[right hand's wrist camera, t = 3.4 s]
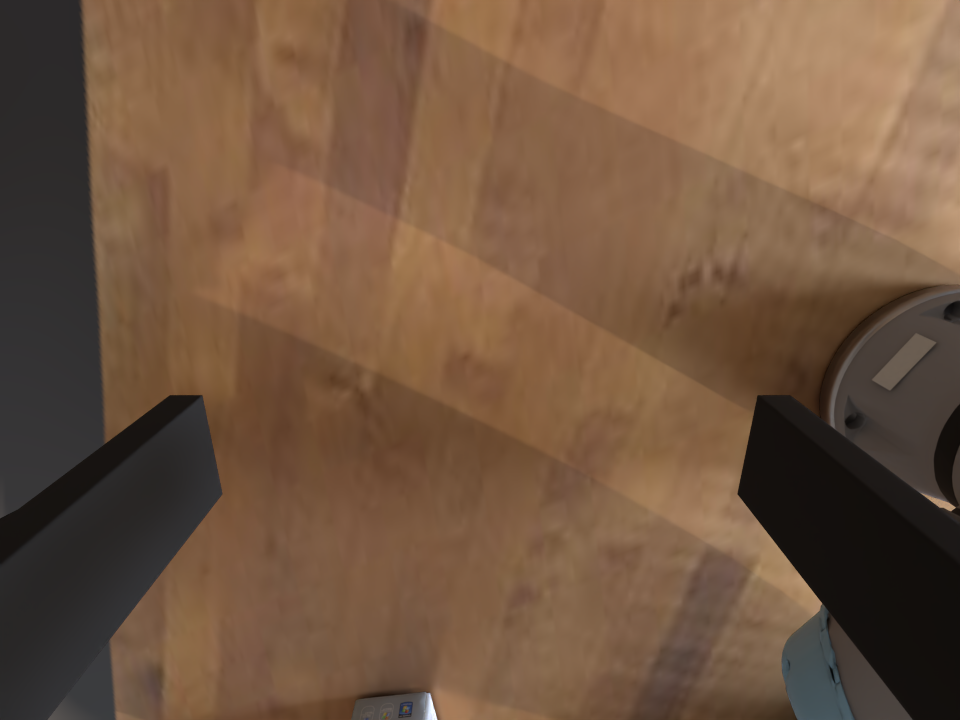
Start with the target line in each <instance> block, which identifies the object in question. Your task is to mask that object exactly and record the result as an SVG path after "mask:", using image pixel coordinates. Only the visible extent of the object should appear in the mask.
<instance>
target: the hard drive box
mask: <svg viewBox="0 0 960 720" xmlns="http://www.w3.org/2000/svg"><path fill="white" fill-rule="evenodd" d="M351 720H437V717H436V713H435V710H434V707H433V703H432V699H431V696H430V693H426V692H419V693H410V694H402V695H392V696H383V697H374V698H365V699H358V700H356V701H355V706H354V710H353V714H352V718H351Z"/></svg>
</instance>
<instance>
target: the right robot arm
mask: <svg viewBox="0 0 960 720" xmlns="http://www.w3.org/2000/svg"><path fill="white" fill-rule="evenodd" d="M820 415H821V418H820V417H818V416H817V415H816V414H814V413H813V412H812V411H810V410H809V409H808V408H806V407H805V406H804V405H802V404H801V403H800V402H798V401H797V400H796V399H794V398H793V397H792V396H790V395H758V396H757V401H756V406H755V411H754V416H753V421H752V425H751V430H750V435H749V440H748V445H747V450H746V455H745V460H744V465H743V469H742V474H741V479H740V484H739V489H738V495H739V497H740V498H741V499H742V500H743V502H744V503H745V504H746V506H747V507H748V508H749V509H750V511H751V512H752V513H753V515H754V516H755V517H756V518H757V520H758V521H759V522H760V524H761V525H762V526H763V528H764V529H765V530H766V531H767V533H768V534H769V535H770V537H771V538H772V539H773V540H774V542H775V543H776V544H777V546H778V547H779V548H780V549H781V551H782V552H783V553H784V555H785V556H786V557H787V558H788V560H789V561H790V562H791V564H792V565H793V566H794V567H795V569H796V570H797V571H798V573H799V574H800V575H801V576H802V578H803V579H804V580H805V582H806V583H807V584H808V586H809V587H810V588H811V589H812V591H813V592H814V593H815V595H816V596H817V597H818V598H819V600H820V601H821V602H822V605H821V608H820V611H819V612H818V613H817V614H816V615H815V616H813V617H812V618H811V619H810V620H809V621H808V622H806V623H805V624H804V625H803V626H802V627H800V628H799V629H798V630H797V631H796V632H795V633H793V634H792V635H791V636H790V638H789V639H788V640H787V642H786V644H785V646H784V649H783V653H782V673H783V677H784V681H785V684H786V691H787V694H788V697H789V700H790V703H791V705H792V708H793V710H794V713H795V715H796V718H797V720H960V285H944V286H936V287H931V288H926V289H923V290H919V291H916V292H913V293H910V294H908V295H905V296H903V297H901V298H899V299H897V300H894V301H892V302H891V303H889V304H887V305H886V306H884V307H882V308H881V309H879V310H878V311H876V312H875V313H873V314H872V315H871V316H869V317H868V318H867V319H866V320H864V321H863V322H862V323H861V324H860V325H859V326H858V327H857V328H856V329H855V330H854V331H853V332H852V333H851V334H850V335H849V336H848V337H847V339H846V340H845V341H844V342H843V344H842V345H841V346H840V348H839V349H838V351H837V352H836V354H835V355H834V357H833V359H832V361H831V363H830V365H829V367H828V369H827V372H826V374H825V377H824V380H823V384H822V388H821V394H820ZM919 492H920V493H919ZM921 493H923V494H925V495H928V496H931V497H934V498H937V499H940V500H943V501H946V502H949V503H950V504H952V505H953V506H955V507H956V508H955V509H954V510H952V511H951V512H950V511H948V510H946V509H944V508H939V507H938V506H937V505H935V504H934V503H933V502H931V501H930V500H929V499H927V498H926V497H925V496H923V495H922V494H921ZM221 495H222V489H221V484H220V479H219V474H218V469H217V465H216V460H215V455H214V450H213V445H212V440H211V435H210V430H209V425H208V421H207V416H206V411H205V406H204V401H203V396H202V395H170V396H168V397H167V398H166V399H164V400H163V401H162V402H160V403H159V404H158V405H156V406H155V407H154V408H152V409H151V410H150V411H148V412H147V413H146V414H144V415H143V416H142V417H140V418H139V419H138V420H136V421H135V422H134V423H132V424H131V425H130V426H128V427H127V428H126V429H125V430H123V431H122V432H121V433H119V434H118V435H117V436H115V437H114V438H113V439H111V440H110V441H109V442H107V443H106V444H105V445H103V446H102V447H101V448H99V449H98V450H97V451H95V452H94V453H93V454H91V455H90V456H89V457H87V458H86V459H85V460H83V461H82V462H81V463H79V464H78V465H77V466H75V467H74V468H73V469H71V470H70V471H69V472H67V473H66V474H65V475H63V476H62V477H61V478H59V479H58V480H57V481H55V482H54V483H53V484H51V485H50V486H49V487H47V488H46V489H45V490H43V491H42V492H41V493H39V494H38V495H37V496H35V497H34V498H33V499H31V500H30V501H29V502H27V503H26V504H25V505H23V506H22V507H21V508H20V509H18V510H16V511H14V512H12V513H10V514H8V515H6V516H4V517H2V518H0V720H48V718H49V717H50V716H51V714H52V713H53V712H54V711H55V709H56V708H57V707H58V705H59V704H60V703H61V701H62V700H63V699H64V698H65V696H66V695H67V694H68V692H69V691H70V690H71V689H72V687H73V686H74V685H75V683H76V682H77V681H78V679H79V678H80V677H81V676H82V674H83V673H84V672H85V671H86V669H87V668H88V667H89V665H90V664H91V663H92V661H93V660H94V659H95V658H96V656H97V655H98V654H99V652H100V651H101V650H102V649H103V647H104V646H105V645H106V643H107V642H108V641H109V640H110V638H111V637H112V636H113V634H114V633H115V632H116V631H117V629H118V628H119V627H120V625H121V624H122V623H123V622H124V620H125V619H126V618H127V616H128V615H129V614H130V613H131V611H132V610H133V609H134V607H135V606H136V605H137V604H138V602H139V601H140V600H141V598H142V597H143V596H144V595H145V593H146V592H147V591H148V589H149V588H150V587H151V586H152V584H153V583H154V582H155V580H156V579H157V578H158V576H159V575H160V574H161V573H162V571H163V570H164V569H165V567H166V566H167V565H168V564H169V562H170V561H171V560H172V558H173V557H174V556H175V555H176V553H177V552H178V551H179V549H180V548H181V547H182V546H183V544H184V543H185V542H186V540H187V539H188V538H189V537H190V535H191V534H192V533H193V531H194V530H195V529H196V528H197V526H198V525H199V524H200V522H201V521H202V520H203V518H204V517H205V516H206V515H207V513H208V512H209V511H210V509H211V508H212V507H213V506H214V504H215V503H216V502H217V500H218V499H219V498H220V497H221Z"/></svg>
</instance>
